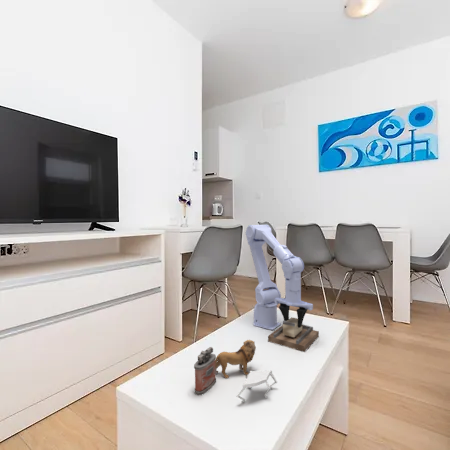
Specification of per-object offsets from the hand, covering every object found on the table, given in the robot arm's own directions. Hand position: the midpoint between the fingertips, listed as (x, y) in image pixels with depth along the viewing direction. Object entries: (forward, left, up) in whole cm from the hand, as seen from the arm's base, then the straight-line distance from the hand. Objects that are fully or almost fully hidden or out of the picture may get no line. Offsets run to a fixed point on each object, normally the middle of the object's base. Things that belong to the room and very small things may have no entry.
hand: (293, 325), depth 104 cm
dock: (0, 0, -5) cm, 5 cm away
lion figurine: (-5, -31, -6) cm, 32 cm away
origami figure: (+5, -37, -6) cm, 38 cm away
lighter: (-8, -42, -6) cm, 43 cm away
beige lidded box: (0, 0, -3) cm, 3 cm away
